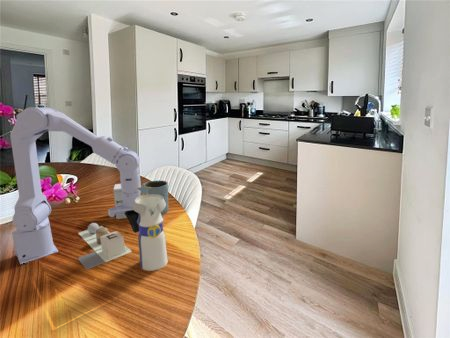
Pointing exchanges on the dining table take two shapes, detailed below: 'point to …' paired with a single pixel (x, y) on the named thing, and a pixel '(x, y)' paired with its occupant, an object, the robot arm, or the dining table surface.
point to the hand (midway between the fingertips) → (136, 231)
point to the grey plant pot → (159, 191)
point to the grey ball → (93, 227)
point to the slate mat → (91, 260)
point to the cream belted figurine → (151, 230)
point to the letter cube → (112, 244)
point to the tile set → (99, 245)
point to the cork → (100, 234)
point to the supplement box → (118, 199)
